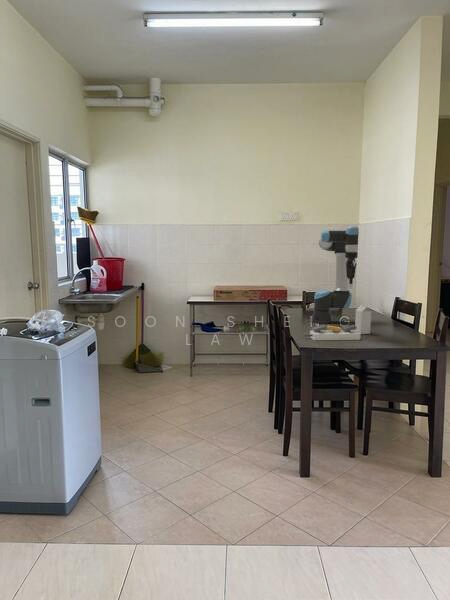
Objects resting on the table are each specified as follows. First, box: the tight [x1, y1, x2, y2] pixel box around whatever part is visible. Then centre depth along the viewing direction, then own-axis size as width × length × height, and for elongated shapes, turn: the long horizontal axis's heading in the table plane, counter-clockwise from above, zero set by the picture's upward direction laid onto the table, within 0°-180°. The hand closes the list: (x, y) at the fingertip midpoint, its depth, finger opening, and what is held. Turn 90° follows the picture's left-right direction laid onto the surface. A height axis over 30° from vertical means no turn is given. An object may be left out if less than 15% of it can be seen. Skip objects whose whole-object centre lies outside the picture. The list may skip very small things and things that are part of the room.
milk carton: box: [354, 303, 372, 335], centre depth 287 cm, size 7×7×19 cm
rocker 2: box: [341, 324, 357, 332], centre depth 274 cm, size 5×8×2 cm, turn 94°
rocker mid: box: [326, 324, 342, 331], centre depth 273 cm, size 5×8×2 cm, turn 94°
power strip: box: [303, 329, 361, 341], centre depth 272 cm, size 10×34×5 cm, turn 94°
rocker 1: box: [311, 324, 328, 332], centre depth 273 cm, size 5×8×2 cm, turn 94°
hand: (349, 288), depth 278 cm, fingers closed
